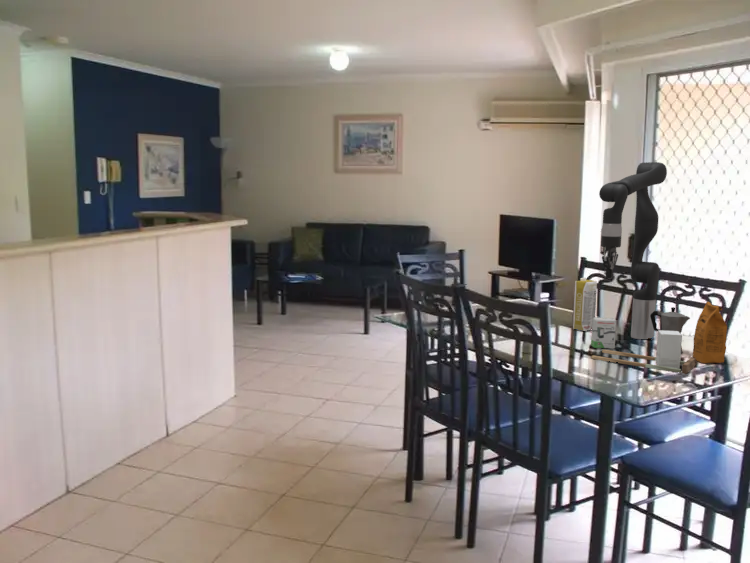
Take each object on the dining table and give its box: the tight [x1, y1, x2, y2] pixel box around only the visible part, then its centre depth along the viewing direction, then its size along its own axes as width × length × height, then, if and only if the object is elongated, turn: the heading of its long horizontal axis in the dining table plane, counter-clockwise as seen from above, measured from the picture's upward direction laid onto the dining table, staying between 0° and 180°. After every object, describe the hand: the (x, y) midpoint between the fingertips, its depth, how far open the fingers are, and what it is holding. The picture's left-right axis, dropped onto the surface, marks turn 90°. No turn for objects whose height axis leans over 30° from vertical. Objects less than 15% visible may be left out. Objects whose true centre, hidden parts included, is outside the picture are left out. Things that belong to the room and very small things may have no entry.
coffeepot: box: [650, 306, 691, 354], centre depth 271 cm, size 15×9×18 cm, turn 45°
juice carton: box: [572, 277, 598, 332], centre depth 309 cm, size 9×8×24 cm
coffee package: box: [692, 301, 728, 364], centre depth 257 cm, size 10×12×22 cm
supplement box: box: [655, 329, 683, 369], centre depth 250 cm, size 7×7×13 cm
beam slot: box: [590, 348, 696, 375], centre depth 255 cm, size 14×34×3 cm, turn 53°
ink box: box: [590, 316, 617, 349], centre depth 278 cm, size 9×5×12 cm, turn 85°
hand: (609, 278), depth 271 cm, fingers closed
